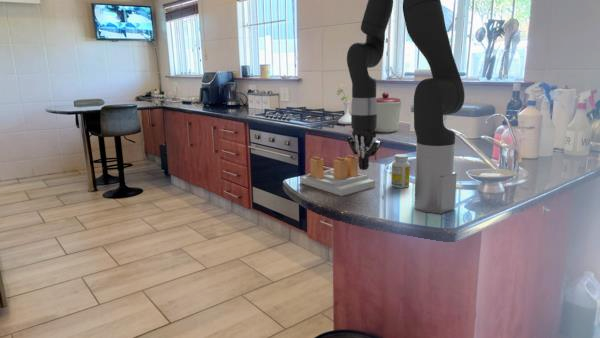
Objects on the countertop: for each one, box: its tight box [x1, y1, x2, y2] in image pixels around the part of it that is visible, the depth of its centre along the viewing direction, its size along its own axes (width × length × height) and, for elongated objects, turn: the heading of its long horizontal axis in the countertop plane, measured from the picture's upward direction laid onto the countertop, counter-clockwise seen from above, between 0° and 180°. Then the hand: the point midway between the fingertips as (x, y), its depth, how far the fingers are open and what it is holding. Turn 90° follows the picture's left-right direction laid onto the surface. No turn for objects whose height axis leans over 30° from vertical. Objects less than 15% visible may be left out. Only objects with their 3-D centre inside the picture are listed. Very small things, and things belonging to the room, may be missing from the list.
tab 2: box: [333, 156, 347, 180], centre depth 134 cm, size 3×3×7 cm
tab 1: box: [309, 155, 325, 179], centre depth 136 cm, size 3×3×7 cm
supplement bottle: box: [390, 153, 411, 189], centre depth 132 cm, size 5×5×10 cm
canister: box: [375, 92, 403, 134], centre depth 234 cm, size 18×18×21 cm
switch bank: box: [300, 167, 376, 197], centre depth 136 cm, size 19×14×3 cm
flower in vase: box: [336, 83, 352, 126], centre depth 265 cm, size 13×11×25 cm
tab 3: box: [343, 154, 359, 177], centre depth 137 cm, size 3×3×7 cm
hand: (363, 169), depth 132 cm, fingers closed
